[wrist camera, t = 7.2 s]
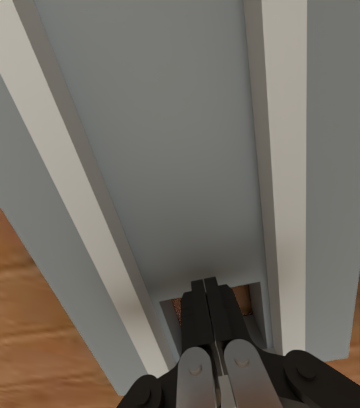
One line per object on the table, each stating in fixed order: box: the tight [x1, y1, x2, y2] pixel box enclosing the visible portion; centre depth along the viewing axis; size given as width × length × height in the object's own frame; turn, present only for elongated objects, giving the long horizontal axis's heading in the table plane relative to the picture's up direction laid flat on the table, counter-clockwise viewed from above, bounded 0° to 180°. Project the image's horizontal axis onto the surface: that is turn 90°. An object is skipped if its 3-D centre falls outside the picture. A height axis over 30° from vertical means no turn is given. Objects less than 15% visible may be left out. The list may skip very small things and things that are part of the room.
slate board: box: [0, 0, 360, 408], centre depth 11 cm, size 27×20×6 cm
